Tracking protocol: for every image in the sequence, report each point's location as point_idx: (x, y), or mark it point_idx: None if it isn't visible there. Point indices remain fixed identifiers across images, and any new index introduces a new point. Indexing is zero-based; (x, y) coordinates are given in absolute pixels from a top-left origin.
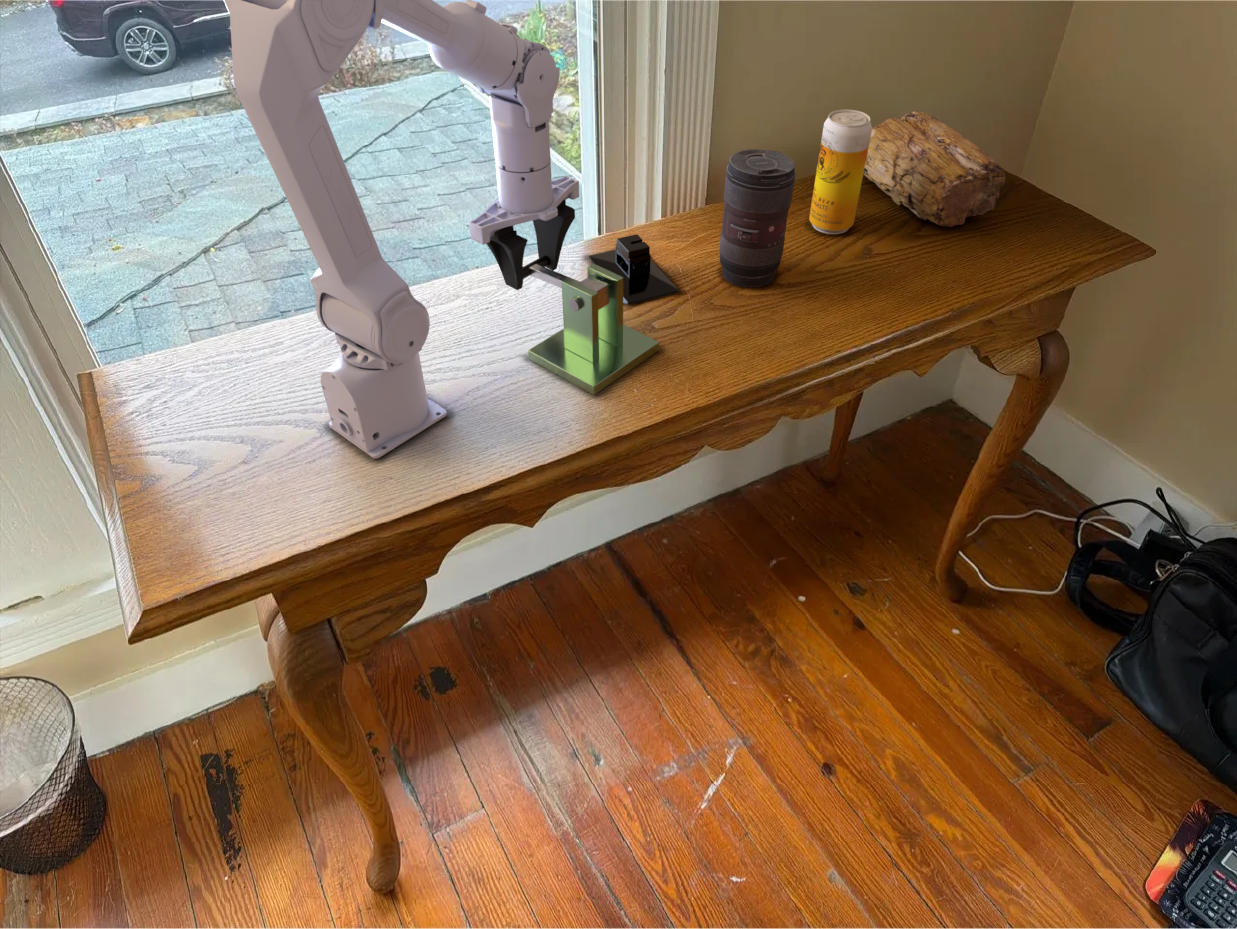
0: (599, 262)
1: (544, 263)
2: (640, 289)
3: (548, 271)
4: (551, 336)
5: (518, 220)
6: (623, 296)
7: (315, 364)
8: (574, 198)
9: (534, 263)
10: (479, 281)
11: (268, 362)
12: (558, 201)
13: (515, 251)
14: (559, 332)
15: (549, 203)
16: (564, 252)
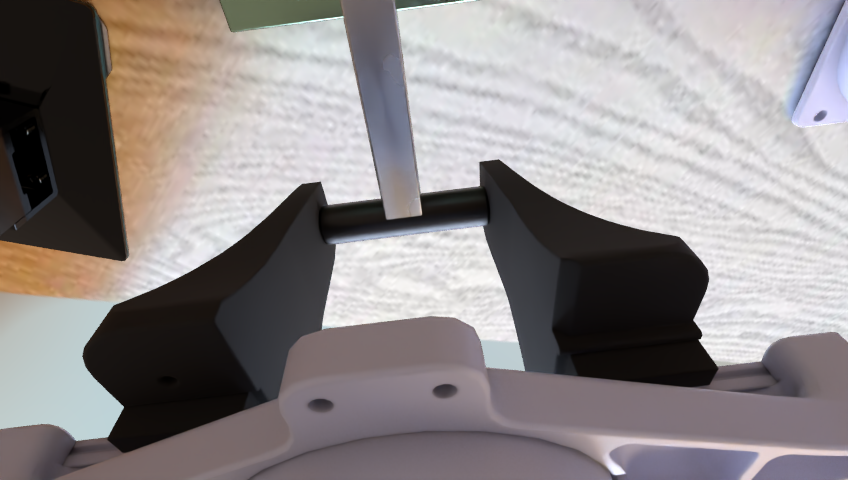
0: (106, 225)
1: (349, 209)
2: (16, 38)
3: (388, 142)
4: (434, 2)
5: (659, 409)
6: (95, 51)
7: (777, 270)
8: (36, 429)
9: (391, 222)
10: (394, 308)
11: (799, 309)
12: (188, 458)
13: (626, 234)
14: (400, 3)
15: (317, 477)
16: None
